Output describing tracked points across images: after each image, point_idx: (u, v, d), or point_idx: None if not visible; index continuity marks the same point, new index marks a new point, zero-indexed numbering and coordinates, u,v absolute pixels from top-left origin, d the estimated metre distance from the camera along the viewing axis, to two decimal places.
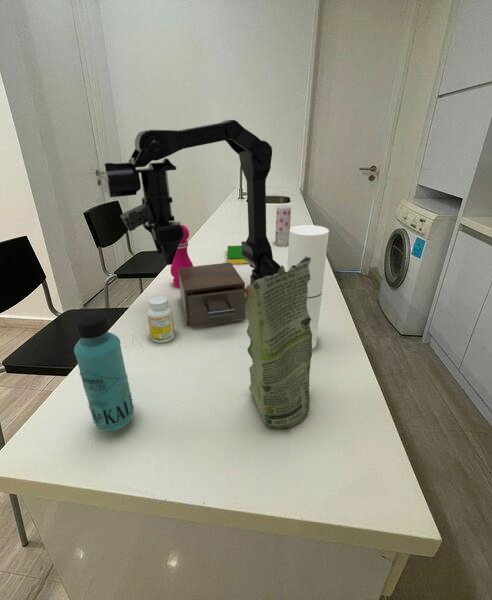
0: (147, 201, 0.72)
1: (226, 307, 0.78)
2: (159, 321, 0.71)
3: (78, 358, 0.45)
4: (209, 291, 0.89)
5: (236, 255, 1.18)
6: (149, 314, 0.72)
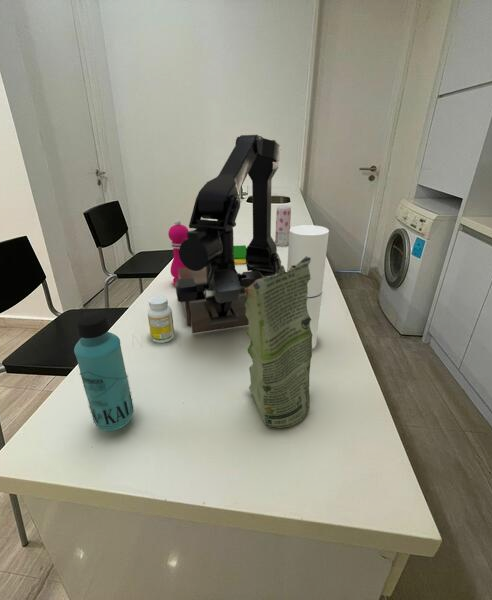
0: None
1: (229, 313, 0.75)
2: (159, 321, 0.71)
3: (78, 358, 0.45)
4: None
5: (236, 255, 1.18)
6: (149, 314, 0.72)
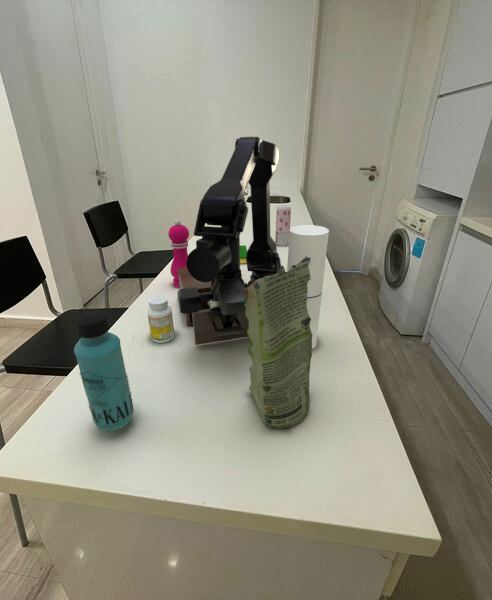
0: (240, 271, 0.61)
1: (234, 323, 0.71)
2: (159, 321, 0.71)
3: (78, 358, 0.45)
4: None
5: None
6: (149, 314, 0.72)
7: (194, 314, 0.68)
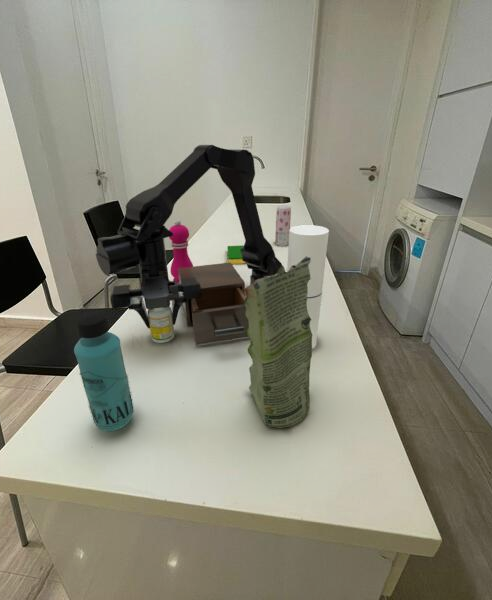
0: (165, 269, 0.67)
1: (234, 323, 0.71)
2: (159, 321, 0.71)
3: (78, 358, 0.45)
4: (215, 304, 0.83)
5: (236, 255, 1.18)
6: (149, 314, 0.72)
7: (194, 314, 0.68)
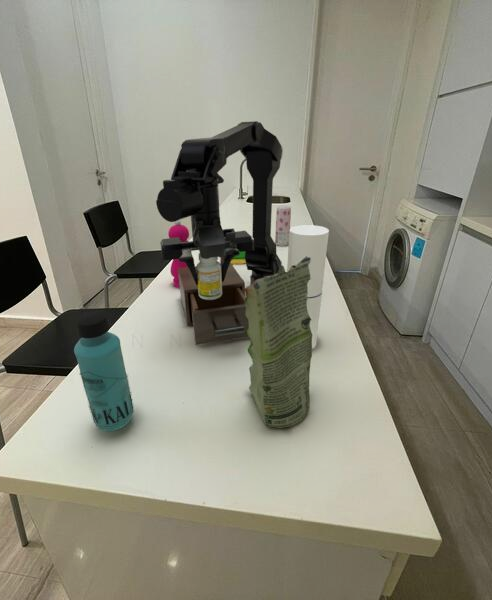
0: (219, 218, 0.63)
1: (234, 323, 0.71)
2: (210, 275, 0.68)
3: (78, 358, 0.45)
4: (215, 304, 0.83)
5: None
6: (199, 268, 0.69)
7: (194, 314, 0.68)
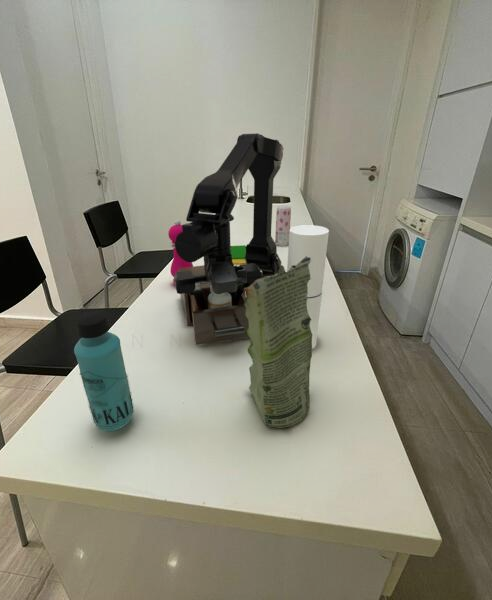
0: None
1: (234, 323, 0.71)
2: None
3: (78, 358, 0.45)
4: None
5: (236, 255, 1.18)
6: (210, 300, 0.72)
7: (194, 314, 0.68)
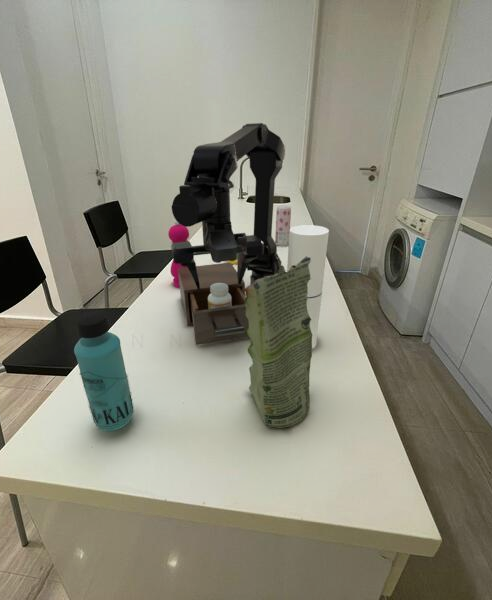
0: (230, 223, 0.64)
1: (234, 323, 0.71)
2: None
3: (78, 358, 0.45)
4: None
5: None
6: (210, 300, 0.72)
7: (194, 314, 0.68)
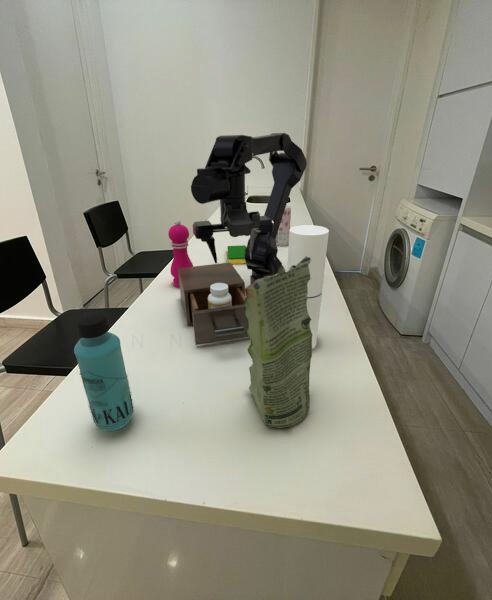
0: (245, 203, 0.74)
1: (234, 323, 0.71)
2: None
3: (78, 358, 0.45)
4: None
5: (236, 255, 1.18)
6: (210, 300, 0.72)
7: (194, 314, 0.68)
